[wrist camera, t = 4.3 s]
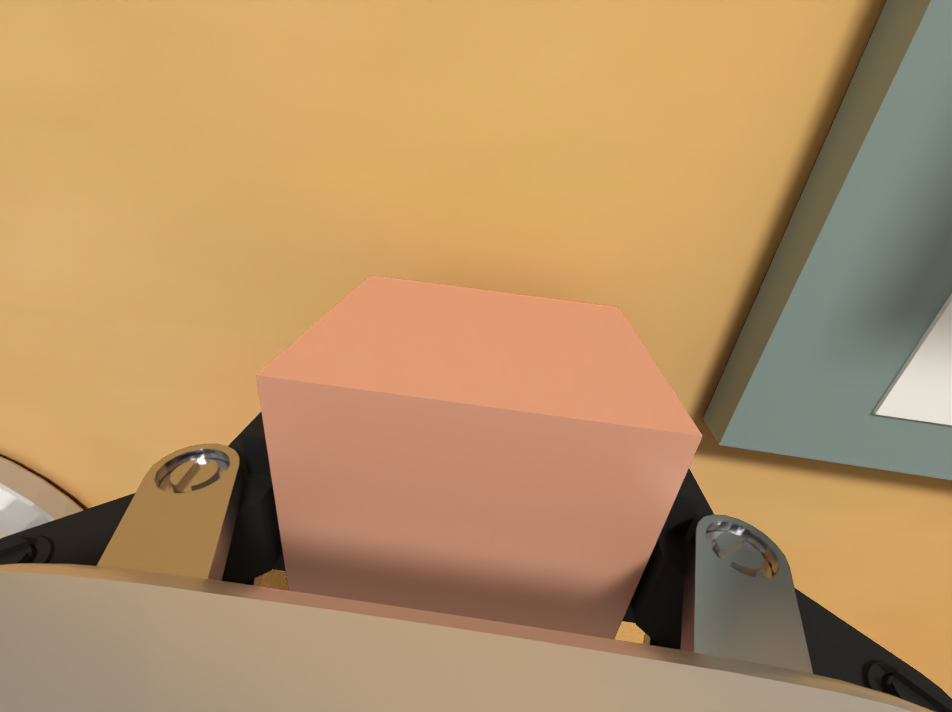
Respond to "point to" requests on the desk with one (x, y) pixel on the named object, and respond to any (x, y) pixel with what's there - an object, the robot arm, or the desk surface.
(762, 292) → the baseplate
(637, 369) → the terracotta brick
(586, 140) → the desk surface
